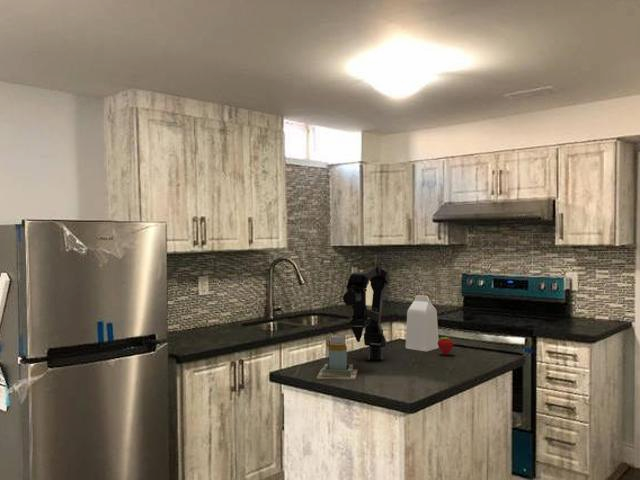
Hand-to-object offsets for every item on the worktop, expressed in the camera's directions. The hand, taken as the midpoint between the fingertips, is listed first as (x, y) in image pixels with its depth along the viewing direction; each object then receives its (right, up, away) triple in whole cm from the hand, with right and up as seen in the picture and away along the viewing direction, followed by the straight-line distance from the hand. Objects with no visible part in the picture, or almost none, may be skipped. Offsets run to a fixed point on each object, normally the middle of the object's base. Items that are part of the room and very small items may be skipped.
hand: (359, 339), depth 241 cm
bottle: (-9, -12, -10) cm, 18 cm away
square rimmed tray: (-9, -12, -11) cm, 19 cm away
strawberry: (+42, -12, +25) cm, 50 cm away
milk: (+34, -12, +42) cm, 55 cm away
